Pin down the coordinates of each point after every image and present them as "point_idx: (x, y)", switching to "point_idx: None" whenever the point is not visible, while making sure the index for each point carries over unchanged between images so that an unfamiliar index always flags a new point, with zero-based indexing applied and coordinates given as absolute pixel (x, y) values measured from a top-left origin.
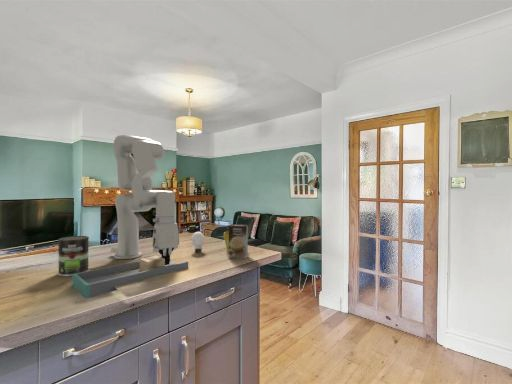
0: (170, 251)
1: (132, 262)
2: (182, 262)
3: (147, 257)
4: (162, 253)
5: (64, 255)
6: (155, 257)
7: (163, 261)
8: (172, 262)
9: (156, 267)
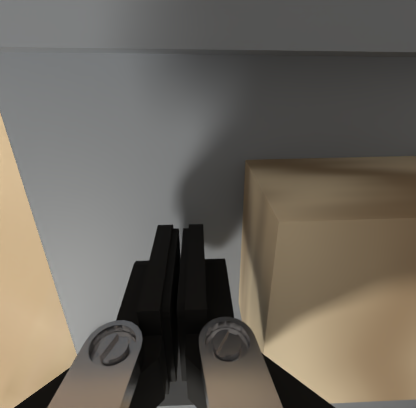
0: (90, 381)
1: (409, 402)
2: (4, 31)
3: (373, 399)
4: (265, 374)
5: None
6: (318, 355)
7: (292, 201)
8: (74, 309)
9: (370, 173)
